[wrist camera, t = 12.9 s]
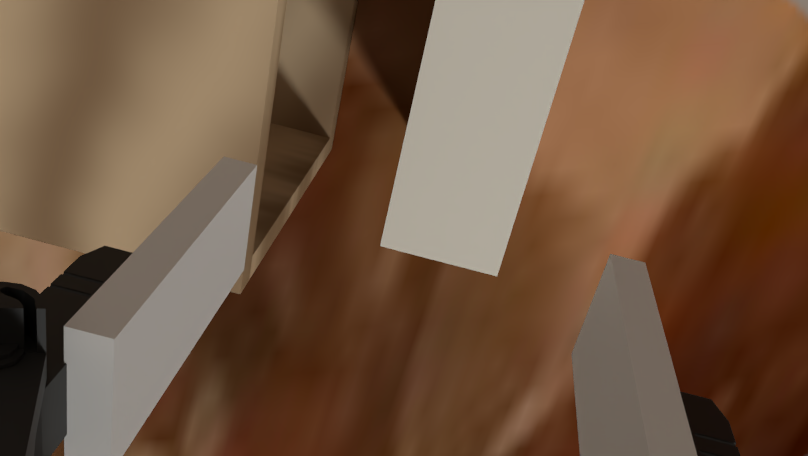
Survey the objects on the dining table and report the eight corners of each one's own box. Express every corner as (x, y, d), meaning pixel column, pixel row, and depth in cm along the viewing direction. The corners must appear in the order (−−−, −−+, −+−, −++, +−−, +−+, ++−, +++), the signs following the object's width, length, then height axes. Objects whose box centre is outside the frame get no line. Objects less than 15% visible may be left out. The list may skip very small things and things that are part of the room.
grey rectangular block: (412, 140, 39) (372, 243, 29) (477, -142, 32) (454, -130, 23) (506, 164, 38) (497, 276, 29) (589, -115, 32) (613, -92, 23)
